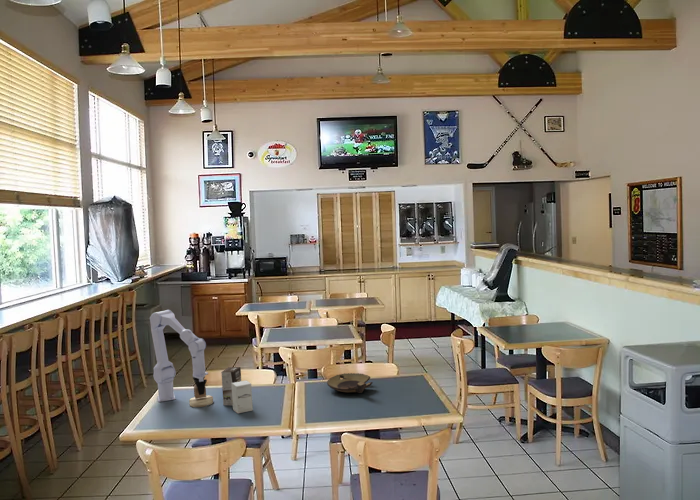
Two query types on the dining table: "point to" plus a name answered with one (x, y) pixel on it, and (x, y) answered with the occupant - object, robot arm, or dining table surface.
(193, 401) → the birch board
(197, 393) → the walnut block
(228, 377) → the coffee box
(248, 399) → the supplement box
